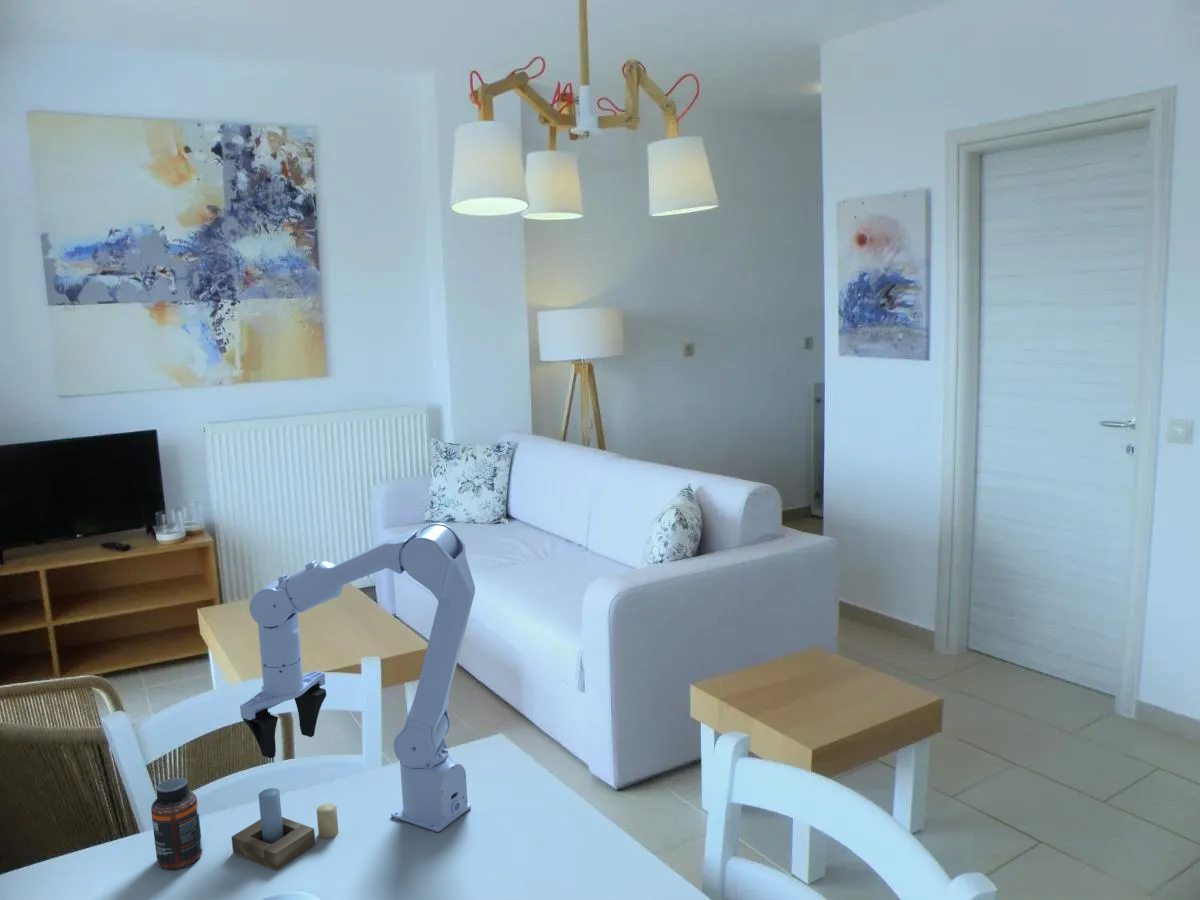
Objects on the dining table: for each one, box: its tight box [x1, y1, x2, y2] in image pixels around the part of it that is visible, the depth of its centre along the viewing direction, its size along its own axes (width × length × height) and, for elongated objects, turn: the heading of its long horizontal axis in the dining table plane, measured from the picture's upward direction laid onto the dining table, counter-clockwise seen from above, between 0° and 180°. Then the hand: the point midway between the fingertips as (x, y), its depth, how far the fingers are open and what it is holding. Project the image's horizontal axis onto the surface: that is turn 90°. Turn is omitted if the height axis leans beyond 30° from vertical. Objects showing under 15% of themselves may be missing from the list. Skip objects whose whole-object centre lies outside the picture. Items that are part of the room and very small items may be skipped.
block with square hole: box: [231, 816, 316, 871], centre depth 135 cm, size 9×7×2 cm
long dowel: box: [258, 787, 283, 844], centre depth 134 cm, size 3×3×8 cm
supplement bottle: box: [150, 777, 203, 870], centre depth 132 cm, size 6×6×11 cm
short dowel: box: [316, 802, 339, 840], centre depth 138 cm, size 3×3×4 cm
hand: (288, 745), depth 144 cm, fingers open, 7 cm apart
